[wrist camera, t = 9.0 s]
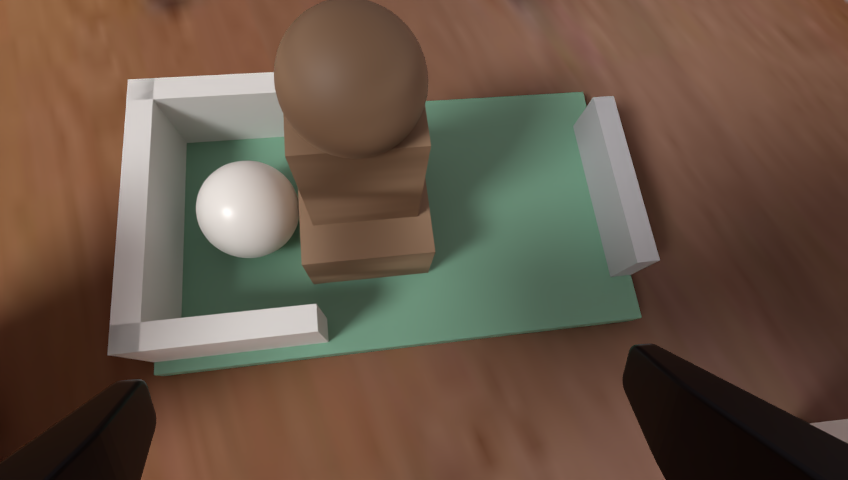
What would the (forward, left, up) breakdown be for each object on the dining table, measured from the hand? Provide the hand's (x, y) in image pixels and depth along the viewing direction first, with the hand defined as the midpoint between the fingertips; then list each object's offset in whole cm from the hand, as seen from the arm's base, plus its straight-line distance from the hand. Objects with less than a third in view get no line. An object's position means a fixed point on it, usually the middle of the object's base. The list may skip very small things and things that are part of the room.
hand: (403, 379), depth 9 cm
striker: (+6, +5, -11) cm, 14 cm away
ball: (+3, +9, -10) cm, 13 cm away
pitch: (+7, +4, -13) cm, 15 cm away
